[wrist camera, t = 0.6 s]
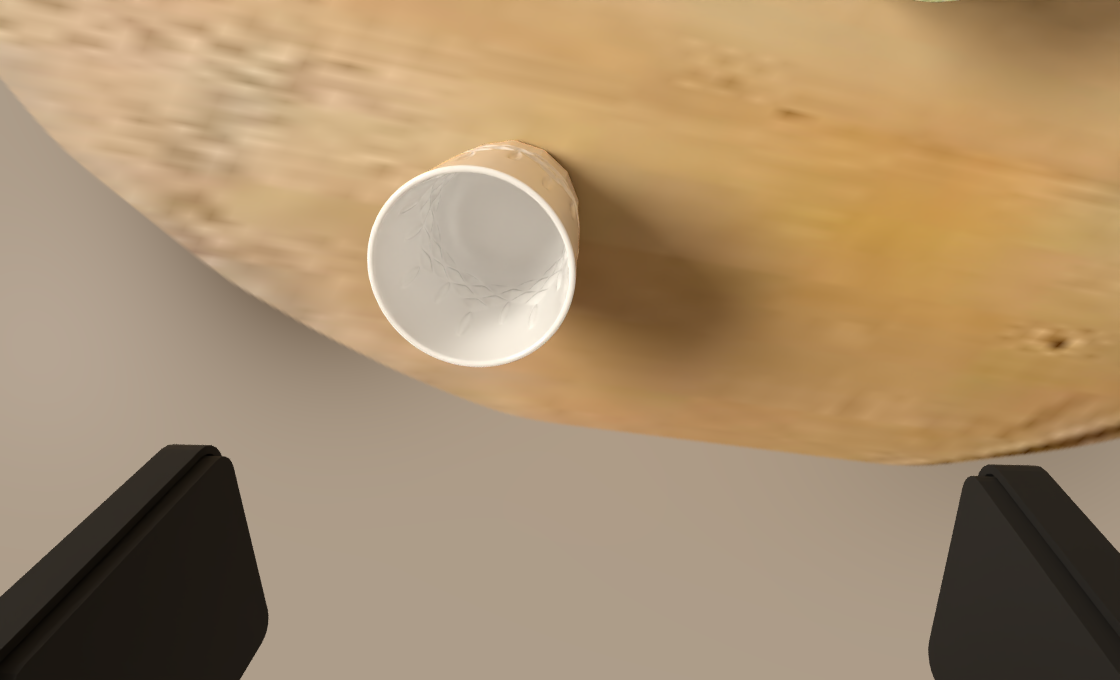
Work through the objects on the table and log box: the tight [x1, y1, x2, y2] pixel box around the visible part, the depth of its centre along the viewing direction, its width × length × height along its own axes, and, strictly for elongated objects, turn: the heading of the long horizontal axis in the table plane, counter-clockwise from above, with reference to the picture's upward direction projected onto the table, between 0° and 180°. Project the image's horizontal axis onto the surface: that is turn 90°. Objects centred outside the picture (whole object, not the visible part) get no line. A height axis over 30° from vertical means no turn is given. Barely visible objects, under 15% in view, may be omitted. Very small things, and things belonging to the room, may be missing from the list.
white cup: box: [367, 140, 580, 367], centre depth 33 cm, size 8×8×10 cm
